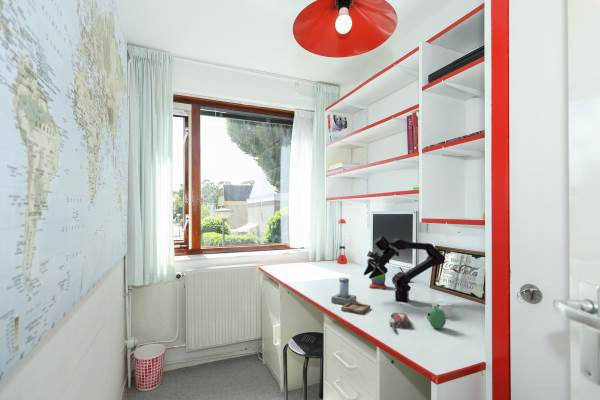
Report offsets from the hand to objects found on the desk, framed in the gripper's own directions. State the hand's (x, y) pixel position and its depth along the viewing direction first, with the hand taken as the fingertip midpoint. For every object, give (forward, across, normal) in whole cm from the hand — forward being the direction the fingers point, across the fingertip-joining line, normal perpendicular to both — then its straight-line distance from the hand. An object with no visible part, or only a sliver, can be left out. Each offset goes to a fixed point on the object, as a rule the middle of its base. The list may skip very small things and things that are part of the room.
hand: (366, 276), depth 178 cm
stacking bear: (-3, -31, +22) cm, 39 cm away
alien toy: (-3, +41, +22) cm, 47 cm away
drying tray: (+17, +14, +3) cm, 22 cm away
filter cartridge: (+19, 0, +1) cm, 19 cm away
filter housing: (+19, 0, +1) cm, 19 cm away
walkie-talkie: (+8, +37, +13) cm, 40 cm away
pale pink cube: (-11, +26, +30) cm, 41 cm away
